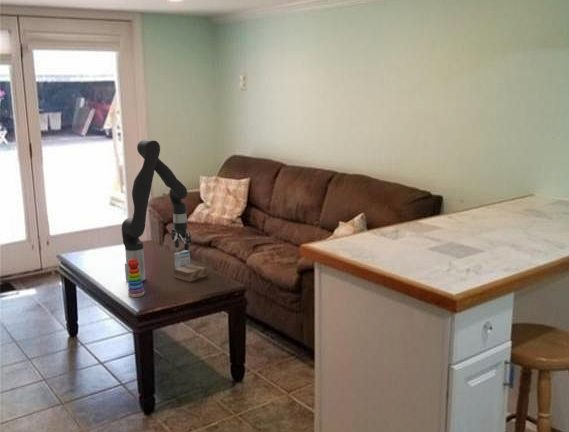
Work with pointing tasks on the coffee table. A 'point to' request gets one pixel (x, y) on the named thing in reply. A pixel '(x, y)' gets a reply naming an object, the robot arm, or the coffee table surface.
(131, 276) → the stacking toy
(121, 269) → the coffee table surface
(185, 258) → the medicine box
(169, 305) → the coffee table surface
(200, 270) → the tan square block
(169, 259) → the coffee table surface
